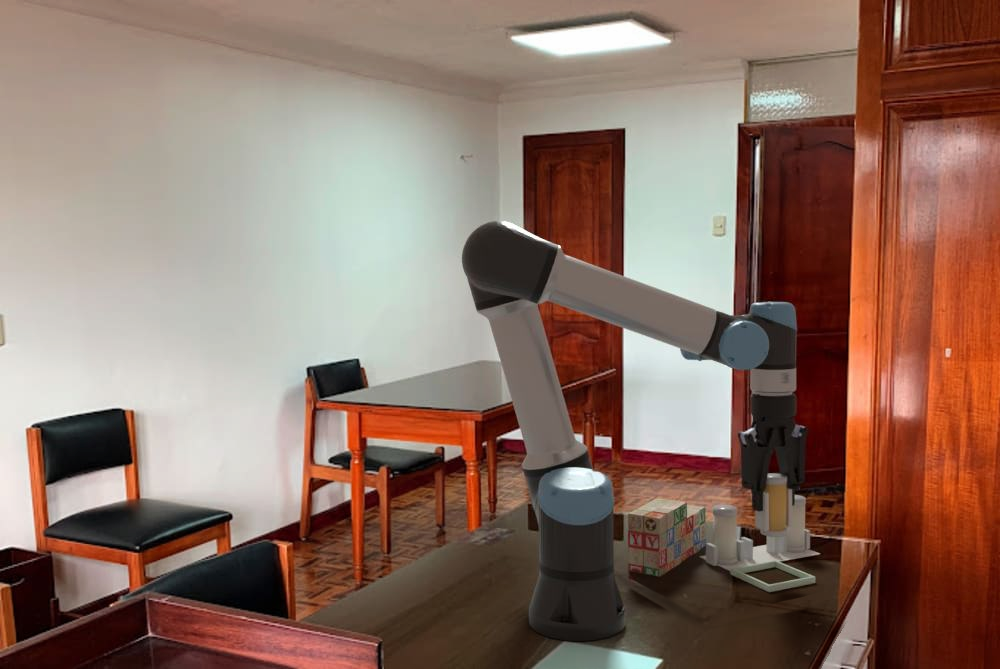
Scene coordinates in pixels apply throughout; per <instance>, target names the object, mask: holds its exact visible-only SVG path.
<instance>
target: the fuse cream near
mask: <svg viewBox="0 0 1000 669" xmlns="http://www.w3.org/2000/svg"><path fill="white" fill-rule="evenodd" d="M711 509H712V540H713V541H712V544H713V545H715V546H718V564H720V565H734V564H736V563H737V539H738V537H737V536H738V535H737V534H738V528H737V524H738V522H737V519H738V518H737V517H738V507H737V506H735V505H731V504H715V505H713V506H712V508H711Z"/></svg>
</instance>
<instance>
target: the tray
mask: <svg viewBox="0 0 1000 669" xmlns="http://www.w3.org/2000/svg"><path fill="white" fill-rule="evenodd" d="M772 568H777V569H779V570H781V571H783V572H785V573H788V574H791V575H793V576H795V577H797V578H795V579H791V580H787V581H785V580H784V581H782V582H775V583H771V584H769V583H766V582H765V581H762V580H760V579H757V578H756V577H753V576H751V575H749V574H747V573H750V572H758V571H762V570H766V569H772ZM729 572H730V575H731V576H733V577H735V578H737V579H740V580H742V581H744V582H746V583H748V584H750V585H752V586H755V587H757V588H759V589H761V590H763V591H765V592H768V593H771V592H772V593H773V592H777V591H782V590H786V589H787V590H788V589H791V588H797V587H802V586H806V585H812V584H816V576H815V575H812V574H810V573H807V572H805V571H802V570H800V569H797V568H795V567H792V566H791V565H788V564H785V563H783V562H782V561H781V562H778V561H776V560H774V561H768V562H763V563H757V564H752V565H747V566H741V567H736V568H730V571H729Z"/></svg>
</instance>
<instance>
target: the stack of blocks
mask: <svg viewBox="0 0 1000 669" xmlns="http://www.w3.org/2000/svg"><path fill="white" fill-rule="evenodd" d="M627 527H628V528H627V529H628V530H627V547H628V548H627V550H628V556H627V557H628V563H627V564H628V566H627V568H628V570H627V571H629V572H634V573H639V574H644V575H650V576H654V577H659V578H660V577H661V576H663V575H665V574H667V573H668V572H670V571H671V570H672V569H674V568H676V567H677V566H679V565H680V564H682V562H684V561H686V560H687V559H688V558H690V557H691V556H692V555H695V554H697V553H698V552H699V551H701V550H702V549H703V548H704V547H706V543H707V522H706V507H705V506H700V505H693V504H688V503H687V501H681V500H673V499H672V500H671V499H666V498H665V499H664V498H655V499H652V500H651V501H649V502H647V503H646V504H644V505H642V506H640V507H637V508H636V509H634V510H632V511H630V512H628V513H627ZM627 577H628V578H629V579H628V578H627V579H628V580H631V579H633V580H632V581H635V579H634V578H632V577H631V576H627Z"/></svg>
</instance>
